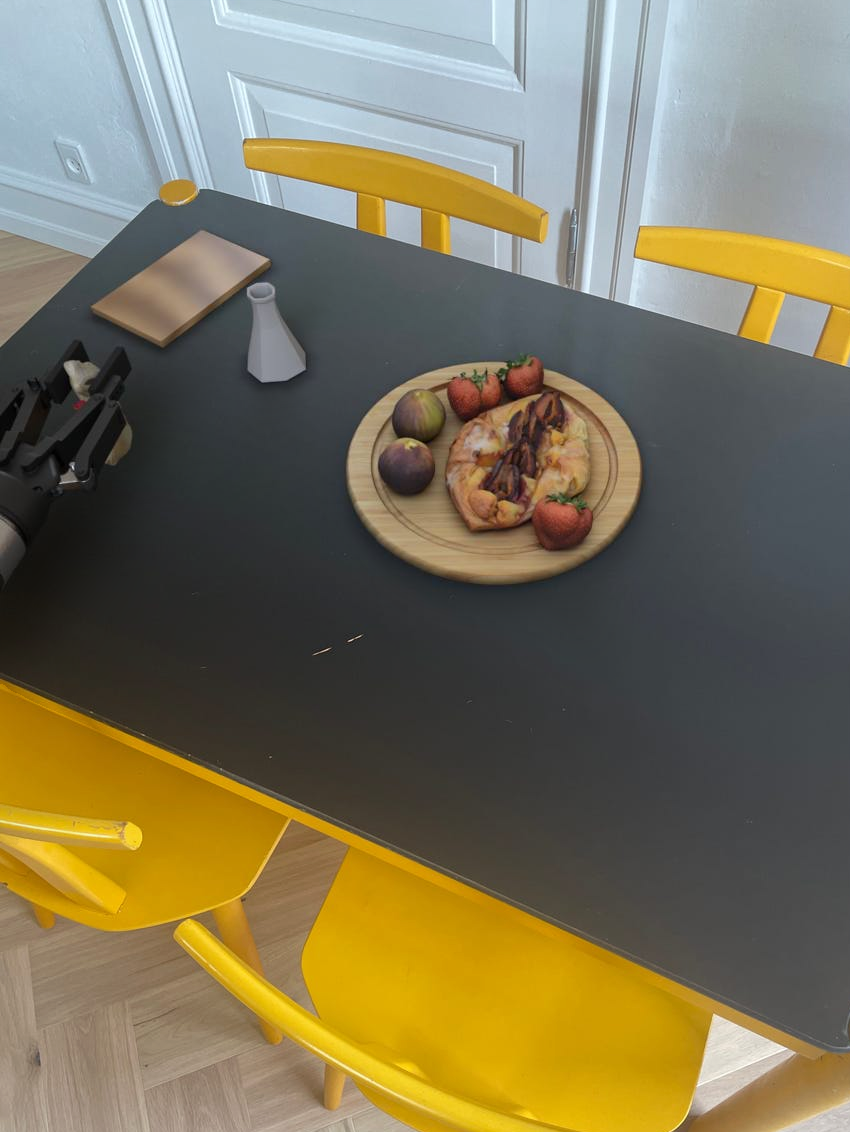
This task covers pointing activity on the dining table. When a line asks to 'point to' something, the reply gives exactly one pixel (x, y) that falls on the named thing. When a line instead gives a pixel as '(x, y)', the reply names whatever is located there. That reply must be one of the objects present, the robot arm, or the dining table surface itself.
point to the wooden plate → (494, 472)
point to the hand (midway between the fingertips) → (103, 354)
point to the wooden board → (181, 288)
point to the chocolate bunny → (80, 383)
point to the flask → (271, 339)
